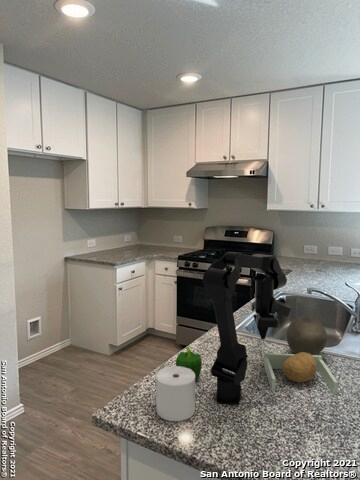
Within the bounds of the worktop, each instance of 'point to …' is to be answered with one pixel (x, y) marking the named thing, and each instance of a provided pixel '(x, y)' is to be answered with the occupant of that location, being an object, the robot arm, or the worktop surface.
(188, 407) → the toilet tissue
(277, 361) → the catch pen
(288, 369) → the potato
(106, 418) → the worktop surface
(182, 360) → the bell pepper
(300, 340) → the cantaloupe
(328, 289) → the worktop surface
